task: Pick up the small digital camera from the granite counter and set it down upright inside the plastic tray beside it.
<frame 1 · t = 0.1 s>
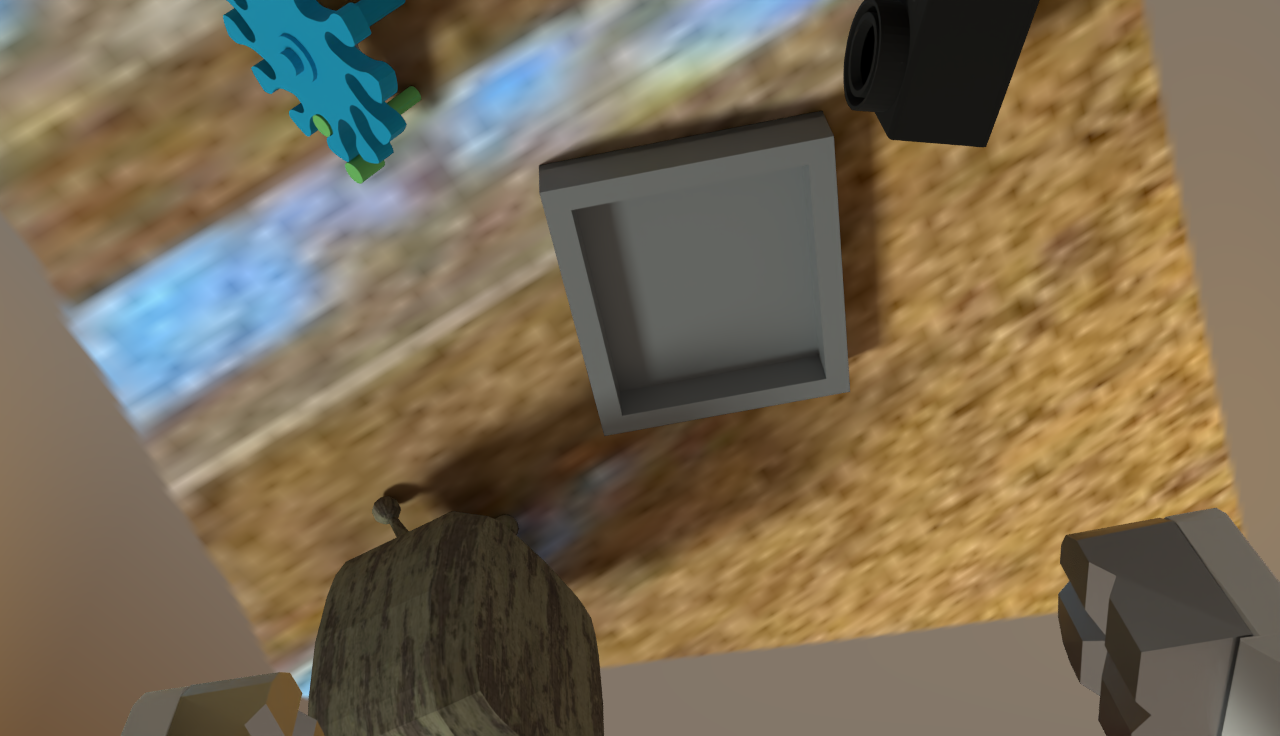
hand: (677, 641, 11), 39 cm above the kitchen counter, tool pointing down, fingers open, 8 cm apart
tray: (701, 271, 56), on the kitchen counter
blue lumpy piece: (327, 24, 46), on the kitchen counter
tabletop clock: (479, 528, 67), on the kitchen counter
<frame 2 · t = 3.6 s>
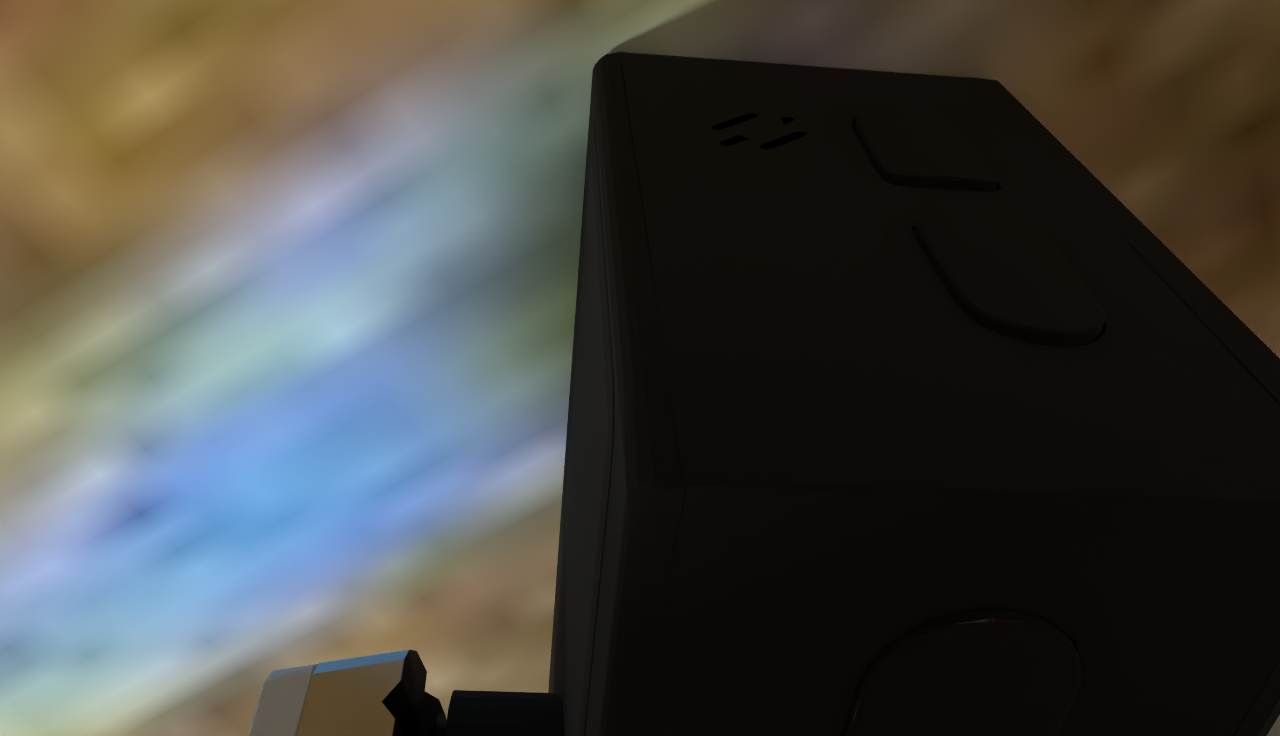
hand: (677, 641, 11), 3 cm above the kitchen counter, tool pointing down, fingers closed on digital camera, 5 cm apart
digital camera: (683, 437, 14), on the kitchen counter, touching gripper
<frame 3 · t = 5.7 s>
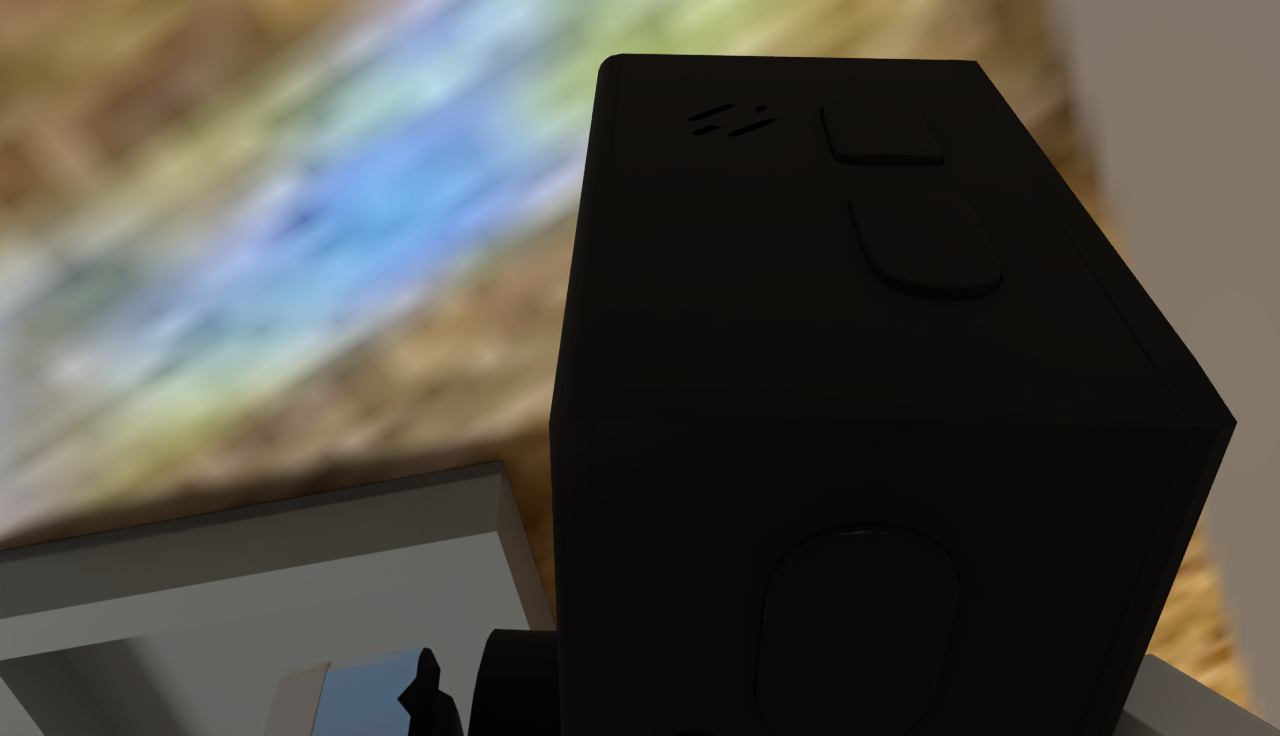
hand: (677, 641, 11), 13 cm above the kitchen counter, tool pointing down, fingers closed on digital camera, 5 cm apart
tray: (335, 717, 30), on the kitchen counter
digital camera: (710, 403, 15), point 8 cm above the kitchen counter, touching gripper
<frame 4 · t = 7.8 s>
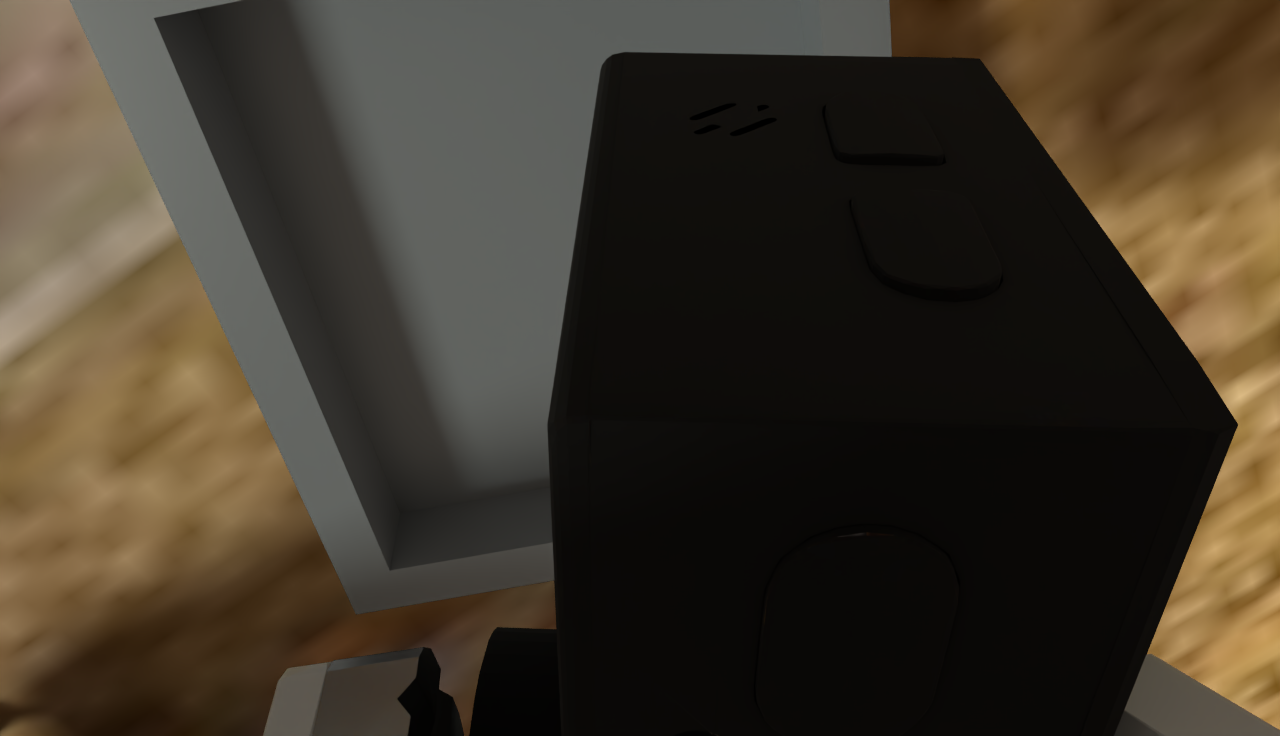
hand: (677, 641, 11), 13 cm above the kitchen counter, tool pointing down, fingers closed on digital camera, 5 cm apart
tray: (561, 232, 24), on the kitchen counter
digital camera: (713, 402, 15), point 9 cm above the kitchen counter, touching gripper
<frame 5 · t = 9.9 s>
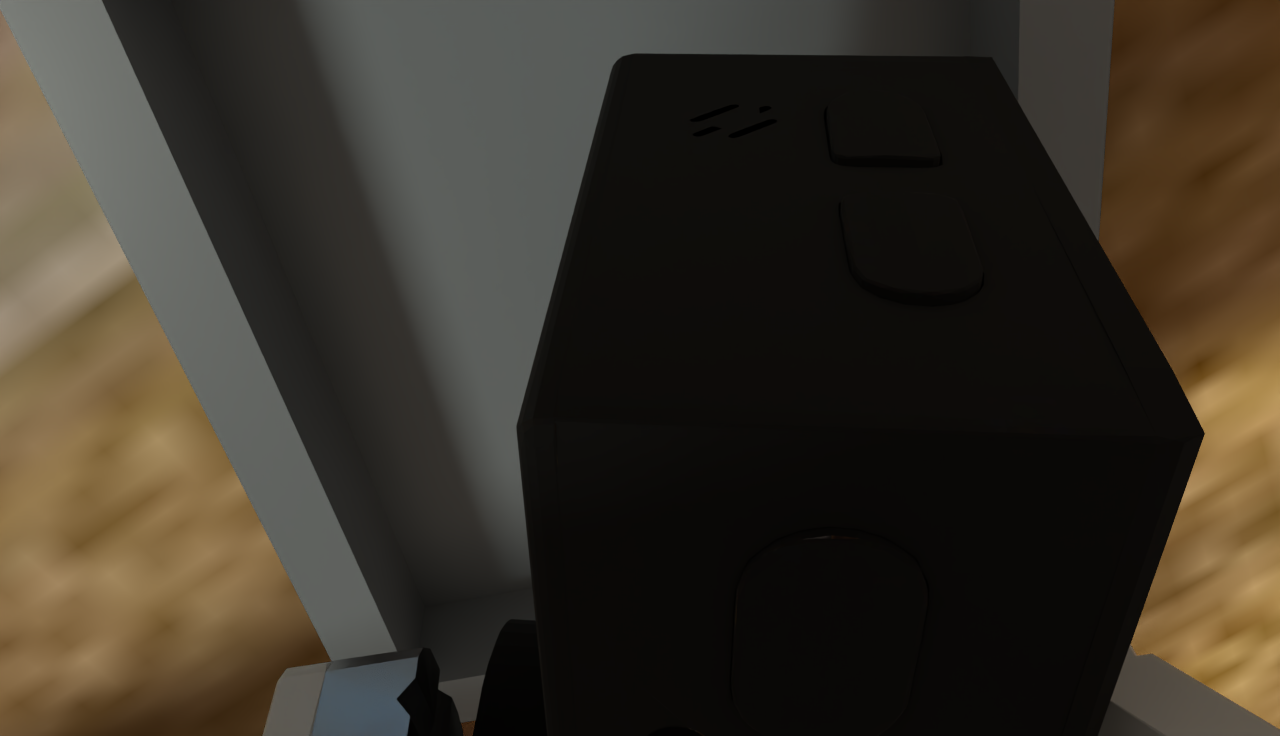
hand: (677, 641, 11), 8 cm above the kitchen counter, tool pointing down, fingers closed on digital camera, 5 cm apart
tray: (635, 261, 18), on the kitchen counter
digital camera: (731, 399, 15), point 4 cm above the kitchen counter, touching gripper
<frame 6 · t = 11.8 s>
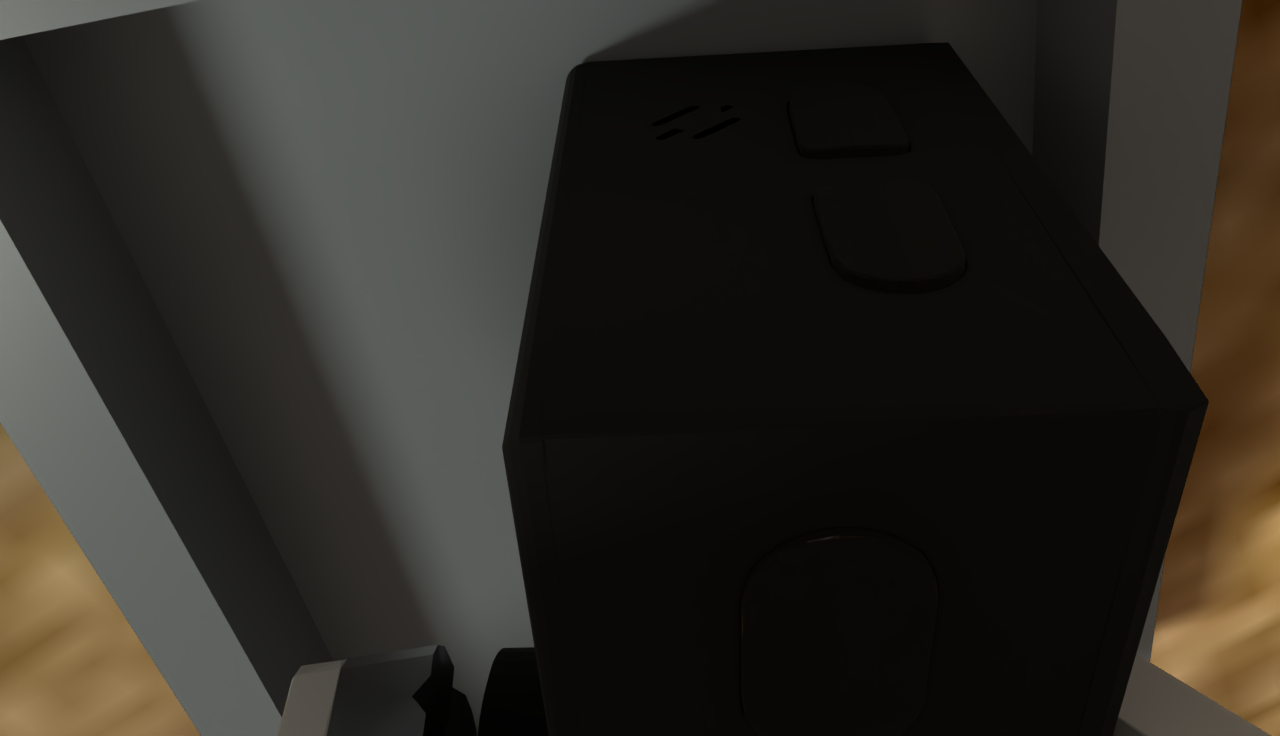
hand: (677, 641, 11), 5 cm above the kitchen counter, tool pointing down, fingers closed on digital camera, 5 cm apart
tray: (622, 374, 15), on the kitchen counter
digital camera: (710, 406, 15), resting on tray, touching gripper
when the fingers open (5 cm above the kitchen counter, at t = 11.8 s): digital camera stays where it is, resting on tray.
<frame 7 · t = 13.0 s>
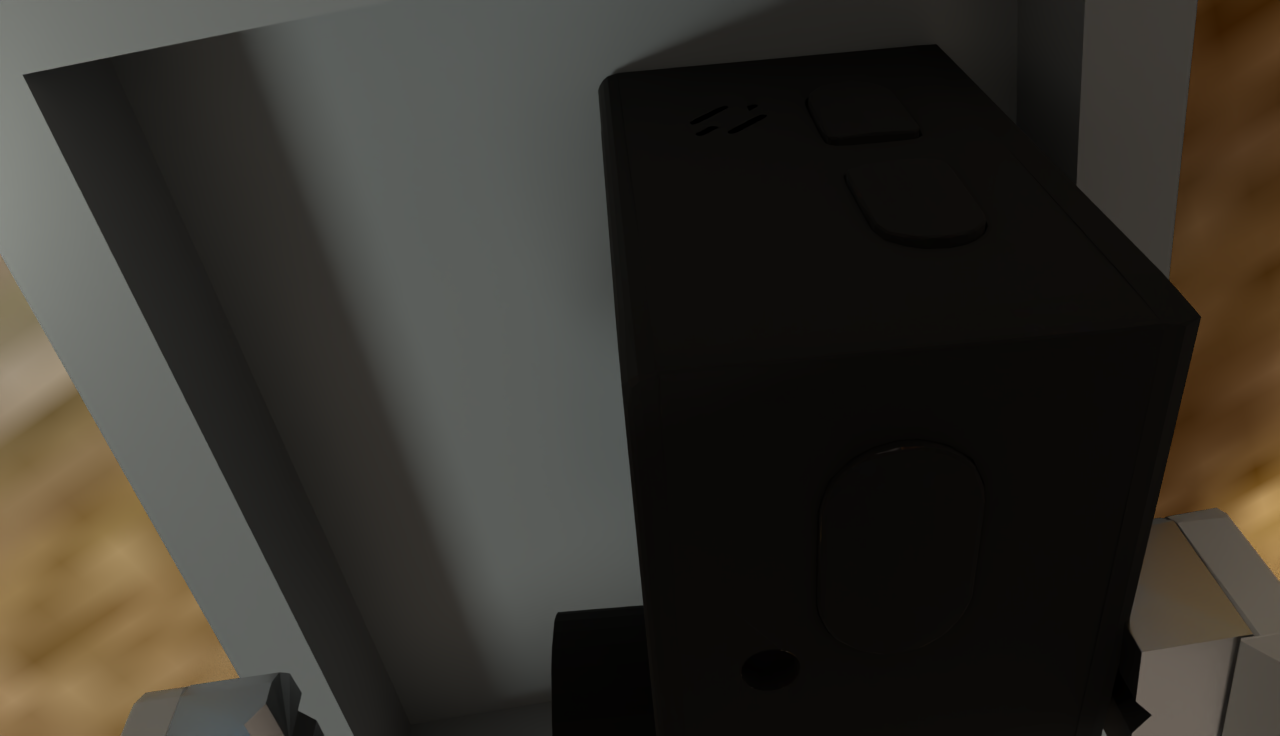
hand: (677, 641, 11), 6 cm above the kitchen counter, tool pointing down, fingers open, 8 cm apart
tray: (641, 365, 17), on the kitchen counter
digital camera: (728, 386, 17), resting on tray, touching gripper
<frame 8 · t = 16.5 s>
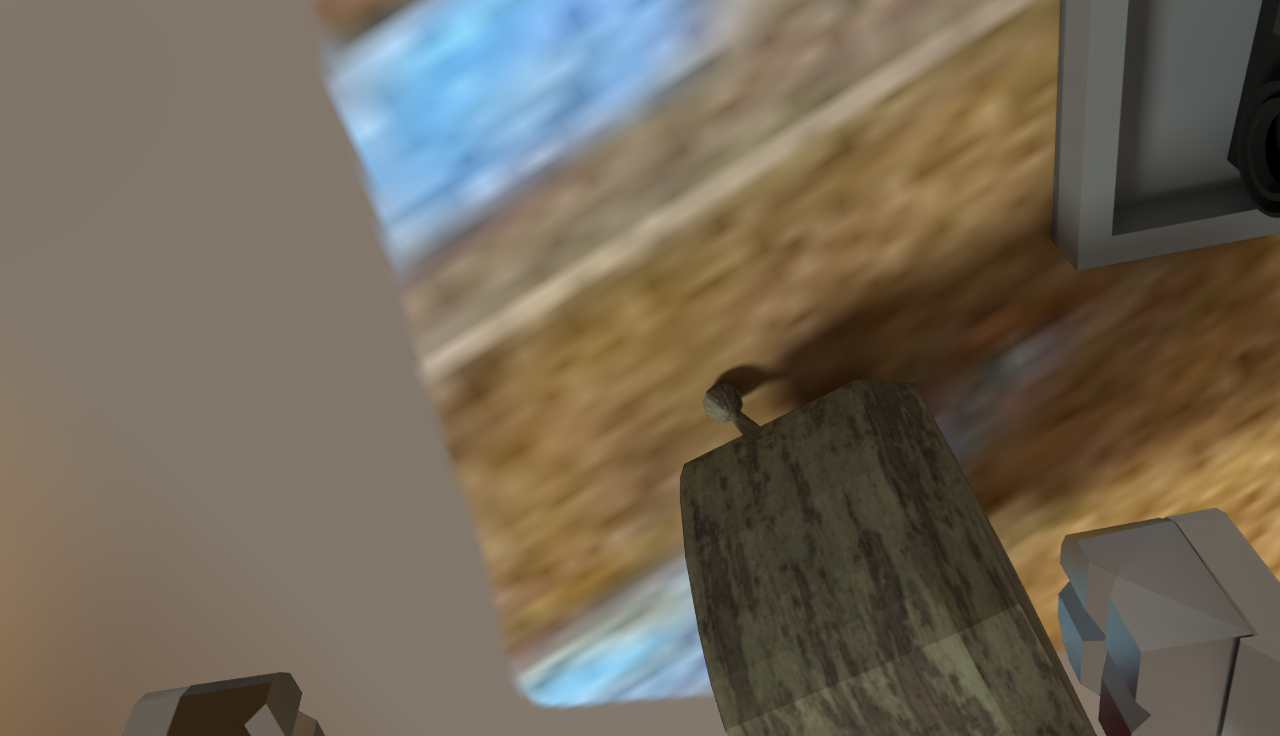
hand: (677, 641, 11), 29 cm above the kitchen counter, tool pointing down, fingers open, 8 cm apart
tray: (1252, 9, 38), on the kitchen counter
tabletop clock: (831, 443, 48), on the kitchen counter
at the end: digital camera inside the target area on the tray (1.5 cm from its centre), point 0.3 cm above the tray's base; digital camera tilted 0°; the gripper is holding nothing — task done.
